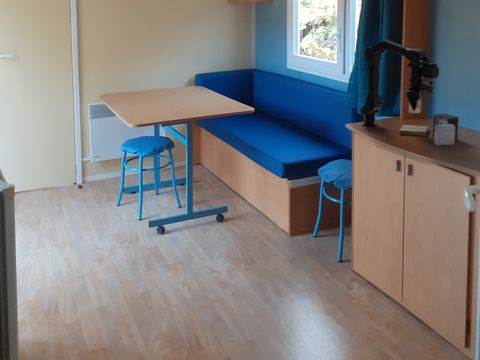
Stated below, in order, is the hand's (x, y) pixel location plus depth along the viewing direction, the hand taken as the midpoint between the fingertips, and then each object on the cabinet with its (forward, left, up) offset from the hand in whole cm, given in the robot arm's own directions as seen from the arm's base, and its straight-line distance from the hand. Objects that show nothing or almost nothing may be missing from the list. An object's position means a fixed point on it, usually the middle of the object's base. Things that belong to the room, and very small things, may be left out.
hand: (414, 109), depth 303 cm
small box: (+7, +15, -12) cm, 20 cm away
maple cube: (0, 0, -1) cm, 1 cm away
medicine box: (+19, +16, -12) cm, 27 cm away
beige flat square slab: (0, 0, -11) cm, 11 cm away
